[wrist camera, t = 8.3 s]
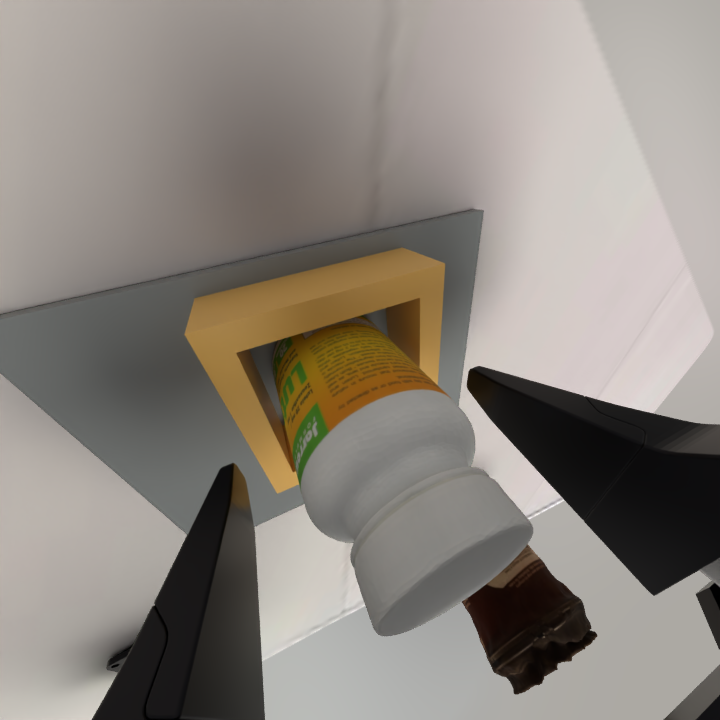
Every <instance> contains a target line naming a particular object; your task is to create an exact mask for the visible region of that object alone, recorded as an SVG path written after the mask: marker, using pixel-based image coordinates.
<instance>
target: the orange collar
mask: <svg viewBox="0 0 720 720" xmlns="http://www.w3.org/2000/svg"><path fill="white" fill-rule="evenodd" d="M444 275H445V263H443V262H440V261H437V260H435V259H432V258H429V257H427V256H424V255H421V254H419V253H416V252H413V251H411V250H408V249H405V248H398V249H394V250H390V251H386V252H382V253H378V254H374V255H370V256H366V257H361V258H357V259H353V260H349V261H345V262H341V263H337V264H333V265H329V266H325V267H320V268H316V269H312V270H308V271H304V272H300V273H296V274H292V275H288V276H284V277H280V278H275V279H271V280H267V281H263V282H259V283H255V284H251V285H247V286H243V287H239V288H235V289H230V290H226V291H222V292H218V293H214V294H210V295H206V296H202V297H198V298H195V299H194V302H193V306H192V309H191V313H190V316H189V320H188V323H187V327H186V330H185V334H184V335H185V336H186V338H187V340H188V341H189V343H190V345H191V347H192V348H193V350H194V352H195V353H196V355H197V357H198V359H199V360H200V362H201V364H202V365H203V367H204V369H205V371H206V372H207V374H208V376H209V378H210V379H211V381H212V383H213V384H214V386H215V388H216V390H217V391H218V393H219V395H220V396H221V398H222V400H223V402H224V403H225V405H226V407H227V408H228V410H229V412H230V414H231V415H232V417H233V419H234V420H235V422H236V424H237V426H238V427H239V429H240V431H241V432H242V434H243V436H244V438H245V439H246V441H247V443H248V444H249V446H250V448H251V450H252V451H253V453H254V455H255V456H256V458H257V460H258V462H259V463H260V465H261V467H262V468H263V470H264V472H265V474H266V475H267V477H268V479H269V480H270V482H271V484H272V486H273V487H274V489H275V491H276V492H277V494H278V493H280V492H283V491H285V490H287V489H289V488H292V487H294V486H296V485H299V481H298V477H297V473H296V469H295V465H294V460H293V456H292V452H291V448H290V444H289V440H288V436H287V432H286V428H285V425H283V426H282V424H281V422H280V419H279V417H278V415H277V412H276V410H275V408H274V406H273V403H272V401H271V399H270V396H269V394H268V392H267V390H266V387H265V385H264V383H263V380H262V378H261V376H260V374H259V371H258V369H257V367H256V364H255V362H254V360H253V358H252V355H251V353H250V351H249V349H251V348H254V347H257V346H261V345H264V344H267V343H271V342H274V341H277V340H281V339H284V338H287V337H291V336H294V335H297V334H301V333H304V332H307V331H311V330H314V329H317V328H321V327H324V326H327V325H331V324H334V323H337V322H341V321H344V320H347V319H351V318H354V317H357V316H361V315H364V314H367V313H371V312H374V311H377V310H381V309H384V308H386V318H387V331H388V338H389V339H390V340H391V341H392V342H393V343H394V344H395V345H396V346H397V347H398V348H399V349H400V350H401V351H402V352H404V353H405V354H406V355H407V356H408V357H409V358H410V359H411V360H412V361H413V362H414V363H415V364H416V365H417V366H418V367H419V368H420V369H421V370H422V371H423V372H424V373H425V374H426V375H427V376H429V377H430V378H431V379H432V380H433V381H434V382H435V383H436V384H437V385H438V373H439V357H440V340H441V324H442V308H443V292H444Z"/></svg>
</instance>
